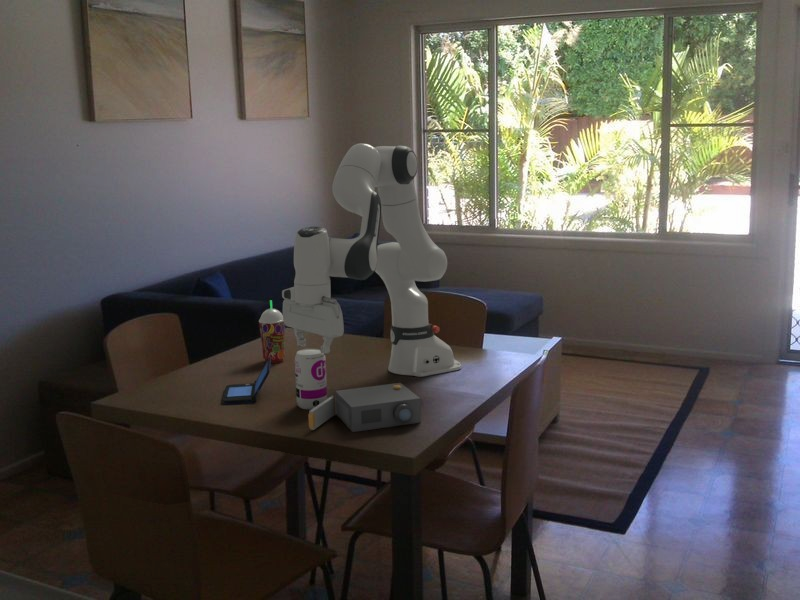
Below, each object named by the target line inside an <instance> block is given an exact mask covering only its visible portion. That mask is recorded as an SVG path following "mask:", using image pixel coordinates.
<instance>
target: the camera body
mask: <svg viewBox="0 0 800 600" xmlns="http://www.w3.org/2000/svg"><path fill="white" fill-rule="evenodd" d="M334 392H335V393H334V394H335V395H334V396H335V413H336V414H335V415H336V416H337V417H338V418H339V419H340V420H341V422H342V423H344V425H345V426H346V427H347V428H348V429H349V430H350V431H351V432H352V433H355V432H362V431H368V430H369V431H370V430H376V429H384V428H391V427H398V426H407V425H411V424H412V425H413V424H420V423H421V422H422V417H421V416H422V415H421V414H422V413H421V397H419V395H417V394H415V393H414V392H413V391H411V389H409V388H408V387H407V386H405V385H404V384H402V383H401V382H398V383H396V382H395V383H388V384H381V385H380V384H379V385H374V386H363V387H357V388H356V387H355V388H347V389H340V390H339V389H338V390H335V391H334Z"/></svg>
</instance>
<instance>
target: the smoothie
mask: <svg viewBox="0 0 800 600" xmlns="http://www.w3.org/2000/svg"><path fill="white" fill-rule="evenodd" d="M269 306H270V308H267V309H265V310H264V311H263V312H262V314H260V315H261V316H260V318H259V320H258V323H259V325H258V326H259V332H260V340H261V341H260V342H261V348H262V349H261V351H262V356H263V357H262V358H263V359H264V360H265V363H266V362H267V360H268V359H269V358H271V363H270V364H279V363H281V362H283V361H284V358H285V354H286V353H285V351H286V349H285V348H286V347H285V342H286V337H285V335H286V329H285V328H286V325H285V323H284V321H283V312H281V311H280V310H278V309H277V308H273V300H271V299H270V300H269Z"/></svg>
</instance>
